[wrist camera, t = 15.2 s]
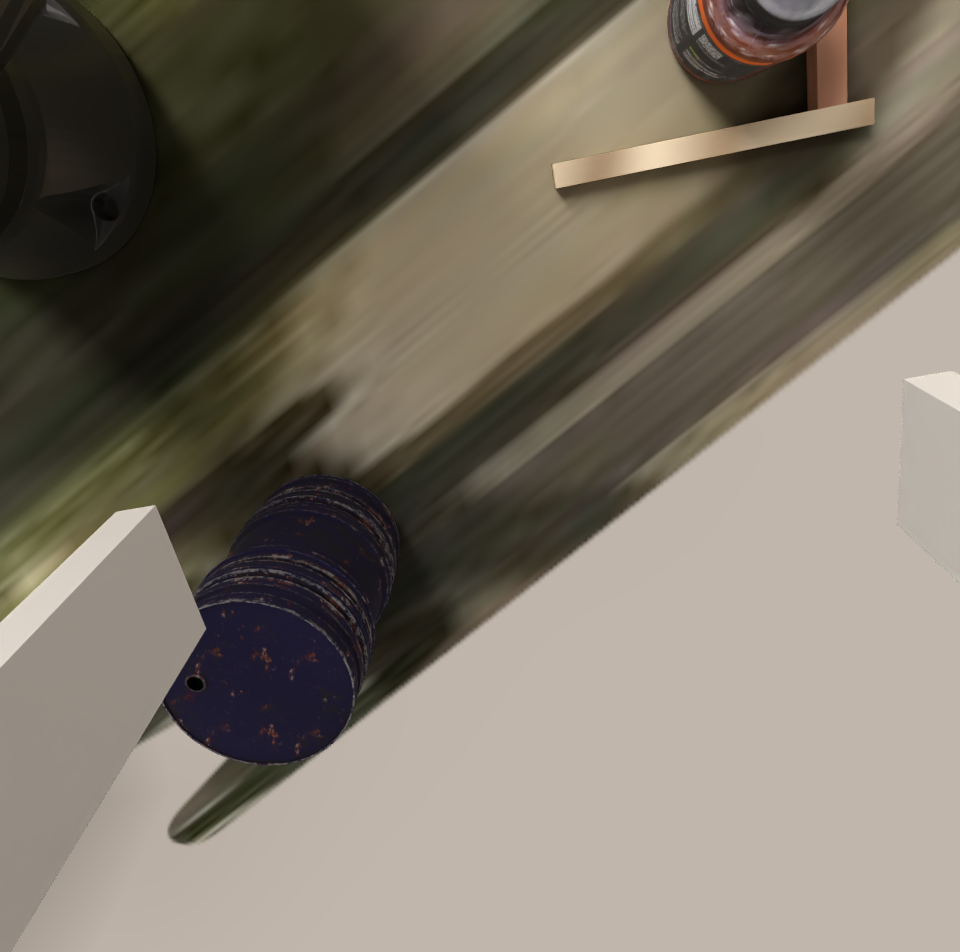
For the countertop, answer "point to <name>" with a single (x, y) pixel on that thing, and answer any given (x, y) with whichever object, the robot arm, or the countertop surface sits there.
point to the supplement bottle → (745, 34)
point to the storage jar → (289, 624)
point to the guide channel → (821, 118)
